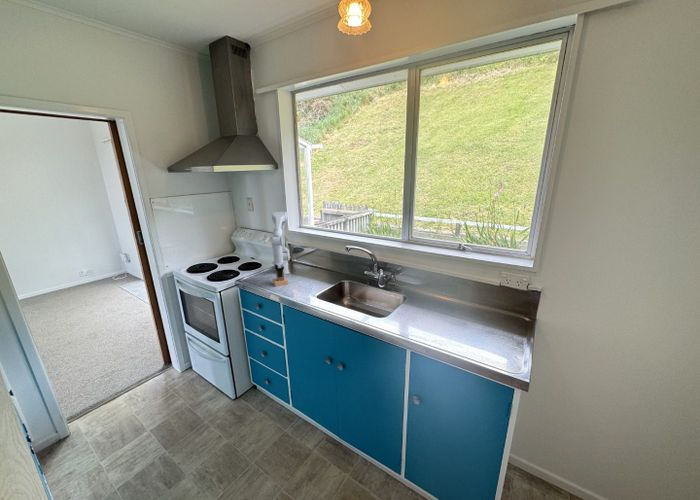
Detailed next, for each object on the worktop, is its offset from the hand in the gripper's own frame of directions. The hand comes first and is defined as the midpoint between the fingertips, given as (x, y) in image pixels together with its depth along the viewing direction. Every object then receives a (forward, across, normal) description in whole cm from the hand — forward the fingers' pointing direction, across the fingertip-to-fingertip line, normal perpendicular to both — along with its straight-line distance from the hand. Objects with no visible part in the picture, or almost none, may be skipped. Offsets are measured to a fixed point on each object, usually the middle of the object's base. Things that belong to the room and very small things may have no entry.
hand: (279, 275), depth 182 cm
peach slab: (+6, 0, 0) cm, 6 cm away
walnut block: (+3, 0, 0) cm, 3 cm away
